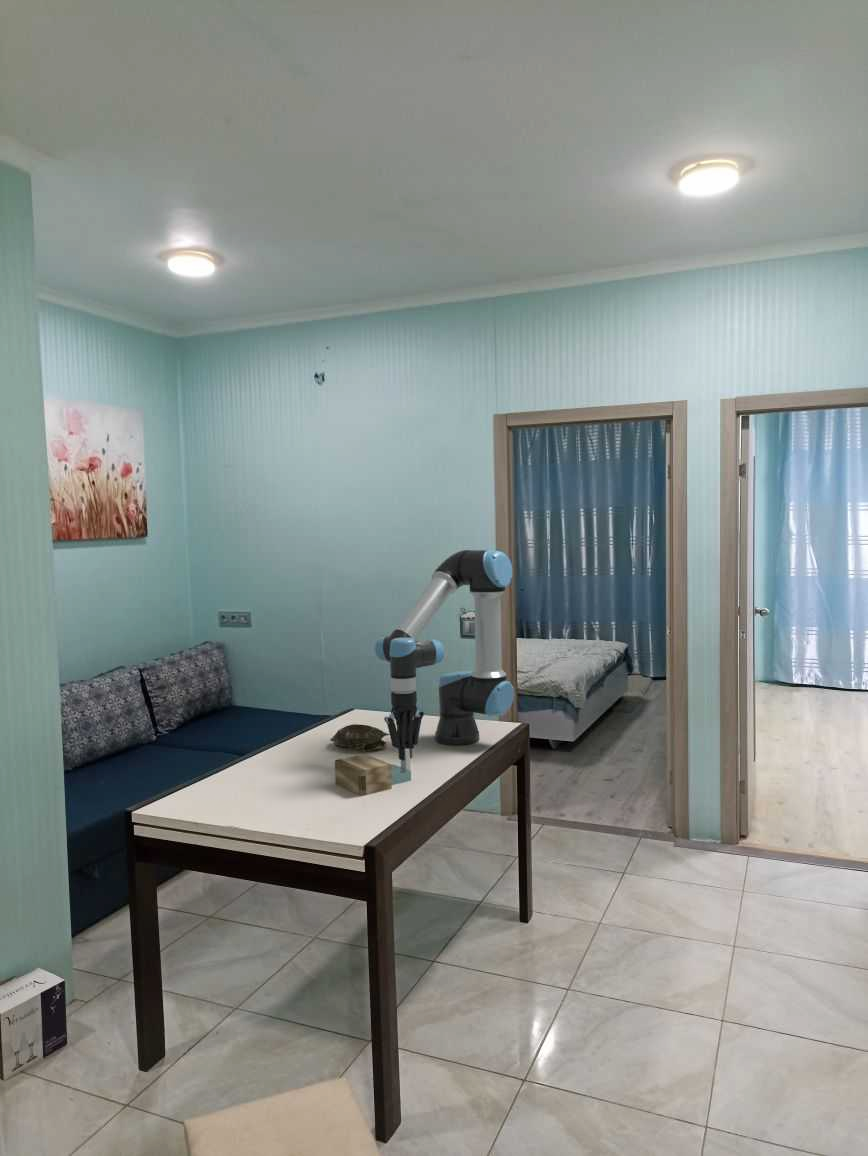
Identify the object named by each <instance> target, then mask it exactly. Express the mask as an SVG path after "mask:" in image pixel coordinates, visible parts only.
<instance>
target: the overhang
mask: <svg viewBox="0 0 868 1156" xmlns="http://www.w3.org/2000/svg"><path fill="white" fill-rule="evenodd" d="M391 765H392V764H391V763H389V762H387V761H384V760H382V759H379V758H376V757H374V756H371V755H368V754H366V753H361V754H357V755H352V756H348V757H343V758H338V759H334V778H335V779H334V780H335V781H334V782H335V785H337V786H340V787H342V789H346V790H348V791H350V792H352V793H354V794H357V795H359V796H360V797H363V796H368V795H372V794H374V793H378V792H379V793H380V792H383V791H384V792H385V791H388V790H392V789H393V787H392V786H393V785H392V778H391Z"/></svg>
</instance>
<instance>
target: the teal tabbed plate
mask: <svg viewBox="0 0 868 1156" xmlns="http://www.w3.org/2000/svg"><path fill="white" fill-rule="evenodd" d="M391 778H392V786H394V785H399V784H403V783H408V782H411V781H412V770H411V769H410V770H407V769H405V768H402V767H401V766H399V765H397V764H394V763H393V764H391Z"/></svg>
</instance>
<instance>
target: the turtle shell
mask: <svg viewBox="0 0 868 1156" xmlns="http://www.w3.org/2000/svg"><path fill="white" fill-rule="evenodd" d="M386 736H390V734H389V733H388V732H385V731H383V730H381V729H379V728H378V727H375V726H371V725H367V724H356V723H354V724H350V725H346V726H343V727H341V728H340V729H338V730H337V731H336V732H335V734H334V735H333V736H332V738H331V737H330V739H329V741H331V742H333V744H334V745H335V747H337V748H339V749H342V750H344V749H345V750H350V751H355V752H361V753H362V752H368V751H374V750H378V751H379V750H382V749H384V748H386V747H387V744H388V743H387V741H384V740H383V738H384V737H386Z"/></svg>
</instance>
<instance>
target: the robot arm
mask: <svg viewBox="0 0 868 1156" xmlns="http://www.w3.org/2000/svg"><path fill="white" fill-rule="evenodd" d="M512 579H513V566H512V562H511V560H510V558H509V557H508V555H507V554H506V553H504V552H502V551H500V550H493V549H489V550H488V549H487V550H485V549H484V550H479V549H478V550H477V549H475V550H470V549H465V550H464V549H463V550H459V551H457V552H456V553H454V554H452V555H450V556H449V557H447V558H446V559H445V560H444V561H442V562H441V563H440V564H439V565H438V567H437V568H436V569H435V570H434V572H433V573H432V575H431V581H430V582H429V583H428V585H427V586H426V587H425V589H424V590H423V591H422V593H421V594H420V595H419V596H418V598H417V599H416V600H415V601H414V603H413V604H412V605H411V607H410V608H409V610H408V611H407V612H406V614H405V615H404V617H402V619H400V622H398V624H397V626H396V627H395V628H394V629H393V631H392V632H391V633H390V635H389V636H382V637H379V638H378V639H377V641H376V642H375V644H374V645H375V646H374V650H375V651H374V652H375V655H376V657H377V658H378V659H379V660H381V661H385V662H388V663H389V665H390V666H389V669H390V689H391V693H390V701H391V702H390V703H391V710H390V714H389V715H388V716H385V717H384V721H385V723H386V724H387V725H386V726H387V729H388V732H389V733H388V734H390V735H389V737H390V740H391V741H390V742H391V746H392V748H394V749H397V750H398V759H399V760H400V767H402V768H405V769H407V770H410V771H411V759H412V757H413V751H412V750H413V749H414V748H415V746H416V745H417V744H418V742H419V736H420V730H421V725H422V719H423V717H424V715H425V713H424V711H420V710H418V707H417V702H418V701H417V698H418V697H417V696H418V695H417V691H416V690H417V687H418V686H417V669H420V668H424V667H429V666H434V665H436V664H440V662H442V660H443V659H444V656H445V649H444V645H443V644H442V642H441V641H439V640H437V639H427V640H418V638H419V637H420V636H421V634H423V631H424V630H425V629H426V628H427V626H428V625H429V623H430V622H431V621H432V619H433V618H434V617H435V616H436V614H437V613H438V611H439V610H440V609H441V607H442V605H444V603H445V601H446V600H447V599H448V597H449V596H450V595H451V594H454V593H456V592H457V591H458V589H459V588H460V587H463V586H469V593H470V594H471V595H472V596H473V598H474V641H475V645H474V646H475V647H474V648H475V650H474V652H475V656H474V657H475V669H474V670H473V671H470V670H464V671H461V670H460V671H454V672H452V671H451V672H448V673H447V672H446V673H444V674H441V675H440V676H439V681H438V682H439V684H438V697H439V698H438V699H439V700H438V701H439V719H438V723H437V726H436V731H435V732H434V741H435V742H437V743H439V744H443V745H448V746H449V745H452V746H459V745H460V746H464V745H471V744H475V743H478V742H479V740H480V731H479V728H478V725H477V722H476V718H475V714H479V715H480V714H481V715H486V716H490V717H492V716H494V717H502V716H503V715H505V714H506V713H507V712H508V711H509V709H510V708H511V706H512V705H513V702H514V697H515V688H514V686H513V684H512V683H511V682H510V681H508V680H507V673H506V672H505V671H504V670H503V668H502V667H503V666H502V665H503V664H502V663H503V662H502V661H503V659H502V657H503V656H502V655H503V654H502V611H501V610H502V608H501V607H502V604H501V603H502V601H501V600H502V595H504V593H506V587H507V586H509V585H510V584H511V581H512Z"/></svg>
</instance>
